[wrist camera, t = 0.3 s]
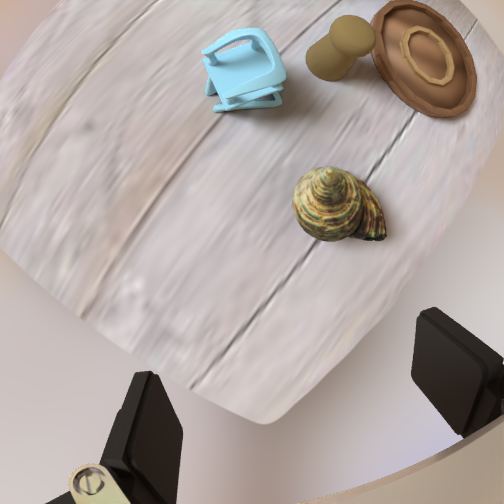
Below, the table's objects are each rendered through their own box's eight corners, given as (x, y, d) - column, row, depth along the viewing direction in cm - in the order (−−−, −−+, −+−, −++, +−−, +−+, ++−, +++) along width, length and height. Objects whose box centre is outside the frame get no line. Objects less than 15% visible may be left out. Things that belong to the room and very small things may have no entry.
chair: (197, 77, 34) (185, 40, 22) (257, 54, 33) (269, 12, 22) (221, 129, 36) (218, 109, 24) (282, 104, 35) (305, 77, 24)
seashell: (303, 260, 41) (326, 286, 31) (275, 178, 38) (292, 180, 28) (372, 232, 41) (410, 250, 31) (349, 153, 38) (386, 149, 28)
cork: (311, 82, 35) (340, 54, 24) (300, 43, 33) (324, 6, 23) (352, 80, 35) (391, 55, 24) (341, 42, 33) (375, 9, 23)
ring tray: (356, -5, 31) (362, -12, 29) (452, 21, 32) (460, 17, 30) (379, 110, 36) (388, 108, 34) (474, 123, 37) (484, 122, 35)
